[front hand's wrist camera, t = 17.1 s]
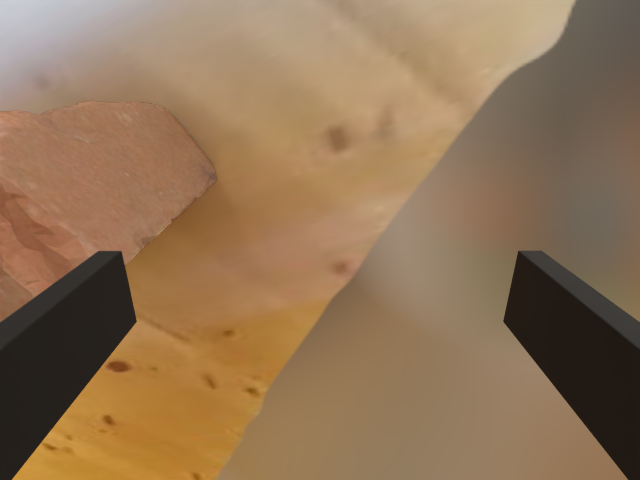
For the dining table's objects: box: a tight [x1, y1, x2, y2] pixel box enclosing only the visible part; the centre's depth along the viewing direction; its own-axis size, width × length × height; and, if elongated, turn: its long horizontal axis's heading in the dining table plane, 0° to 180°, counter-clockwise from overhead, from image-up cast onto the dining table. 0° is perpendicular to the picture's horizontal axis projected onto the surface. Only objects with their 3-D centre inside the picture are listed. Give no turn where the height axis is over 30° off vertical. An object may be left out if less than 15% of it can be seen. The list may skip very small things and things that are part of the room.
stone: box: [0, 101, 217, 322], centre depth 33 cm, size 22×11×28 cm, turn 125°
